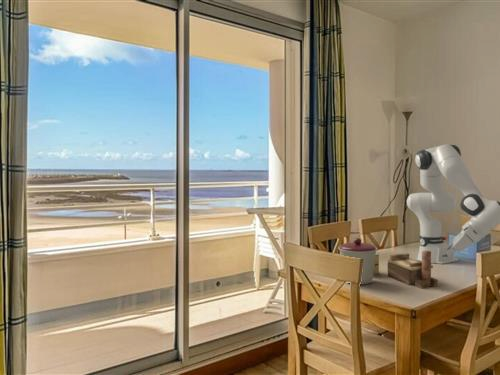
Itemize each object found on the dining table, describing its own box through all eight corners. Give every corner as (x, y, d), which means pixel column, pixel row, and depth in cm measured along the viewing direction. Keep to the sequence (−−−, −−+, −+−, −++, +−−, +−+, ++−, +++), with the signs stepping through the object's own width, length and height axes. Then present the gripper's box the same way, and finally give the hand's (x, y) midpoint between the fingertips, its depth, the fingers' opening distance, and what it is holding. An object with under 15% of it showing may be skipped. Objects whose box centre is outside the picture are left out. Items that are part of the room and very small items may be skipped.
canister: (347, 288, 185) (347, 242, 184) (332, 278, 203) (332, 235, 202) (384, 286, 189) (384, 240, 187) (366, 275, 206) (366, 234, 205)
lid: (407, 259, 208) (407, 252, 207) (433, 267, 191) (433, 260, 191) (387, 261, 204) (387, 254, 204) (411, 270, 187) (411, 262, 187)
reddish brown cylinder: (426, 284, 189) (426, 250, 189) (432, 286, 186) (432, 251, 185) (419, 285, 188) (420, 251, 187) (425, 287, 185) (426, 252, 184)
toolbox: (407, 273, 208) (407, 260, 208) (440, 285, 187) (440, 270, 187) (387, 276, 204) (387, 262, 204) (418, 288, 183) (418, 273, 183)
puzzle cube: (351, 273, 211) (351, 254, 211) (362, 269, 218) (362, 251, 217) (367, 277, 204) (367, 257, 203) (379, 273, 210) (379, 254, 210)
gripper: (466, 223, 187) (442, 242, 192) (467, 230, 169) (440, 251, 174) (477, 233, 186) (453, 253, 191) (479, 241, 168) (452, 262, 173)
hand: (447, 252), depth 182 cm, fingers open, 8 cm apart
